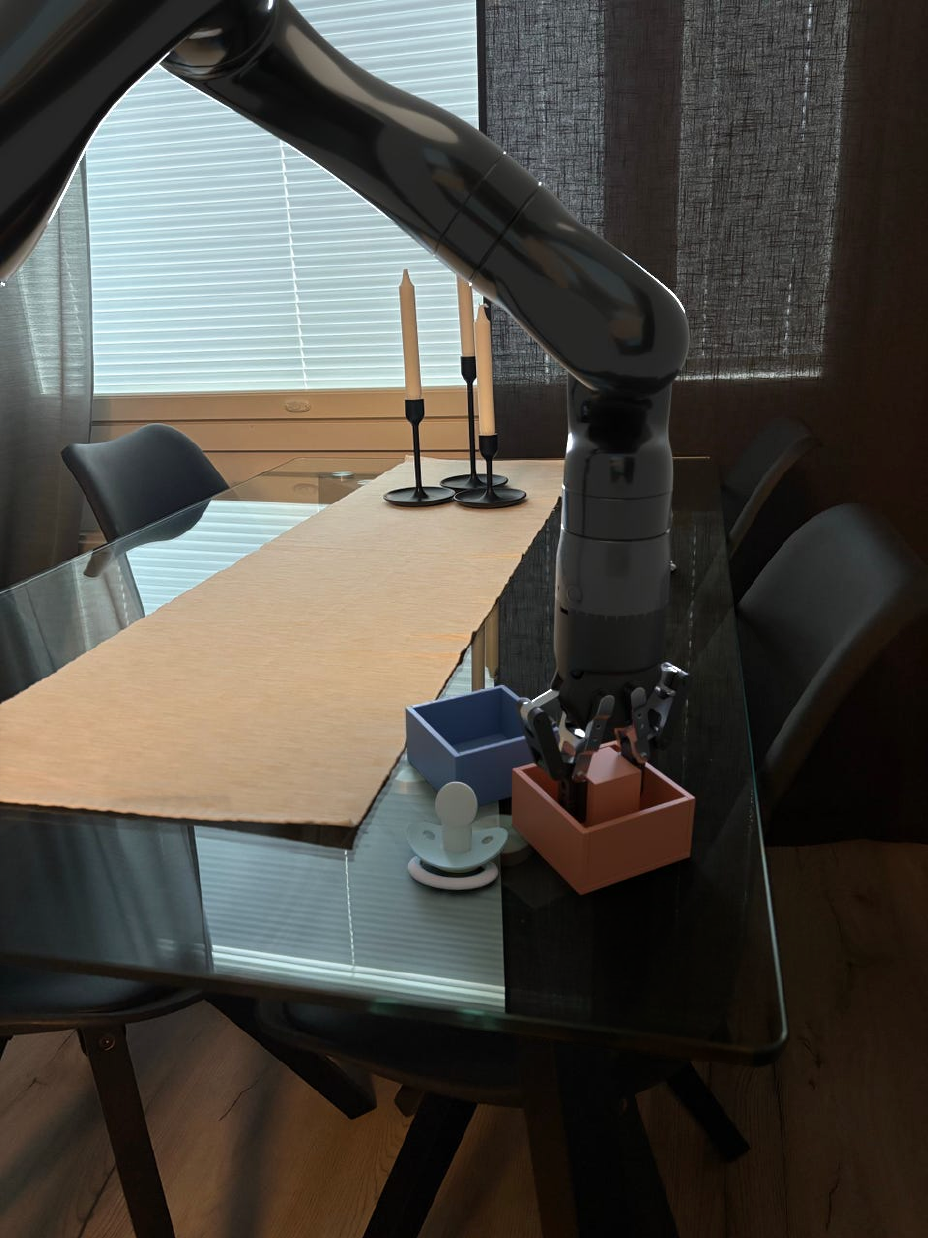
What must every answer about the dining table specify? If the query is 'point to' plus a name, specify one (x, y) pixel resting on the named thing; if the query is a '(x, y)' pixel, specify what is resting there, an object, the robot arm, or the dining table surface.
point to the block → (611, 787)
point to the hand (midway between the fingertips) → (600, 809)
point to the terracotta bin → (603, 829)
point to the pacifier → (454, 842)
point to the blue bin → (469, 741)
